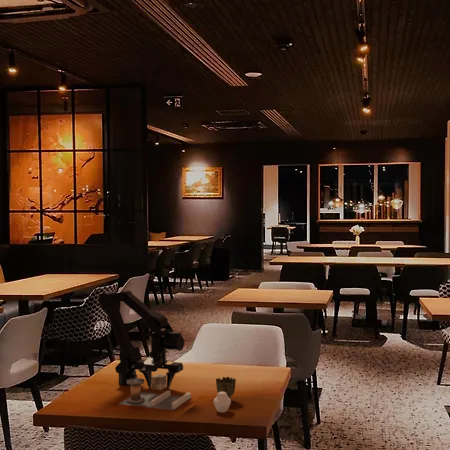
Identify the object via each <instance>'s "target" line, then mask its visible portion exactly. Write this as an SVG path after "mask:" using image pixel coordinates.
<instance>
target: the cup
mask: <svg viewBox="0 0 450 450" xmlns="http://www.w3.org/2000/svg"><path fill="white" fill-rule="evenodd" d="M236 382H237V379H236V378H234V377H230V376H226V377H225V376H223V377H222V378H220V377H218V378H215V384H216V385H215V386H216V390H217V394H218V393H219V392H226V393H227V396H228V397H229V398H230V400H231V399H232V396H233V395H234V394H235V391H236ZM231 401H232V400H231Z"/></svg>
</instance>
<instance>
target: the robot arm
mask: <svg viewBox="0 0 450 450" xmlns="http://www.w3.org/2000/svg"><path fill="white" fill-rule="evenodd" d="M97 301H98V304H99V306H100V308H101V310H102V311H103V312H104V313H105V314H107V317H108V319H109V322H110V324H111V327H112V330H113V333H114V335H115V337H116V341H117V343H118V347H119V356H118V357H119V361H120V362H119V363H118V364H117V365H116V366H115V367H114V370H115V373H116V374H118V385H120V386H127V387H128V386H130V385H129V384H127V380H128V379H132V378H138V375H137V370H138V372H140V373H142V374H143V376H144V379H145V381H146V383H147V386H148V388H151V377H153V375H152V373H153V372H154V373H155V372H157V371H158V369H161V370H167V372H165V375H166V389H167V390H170V387H171V385H172V383H173V381H174V377H175V376H176V374H178V373H180V372H182V371H184V364H183V362H176V361H175V362H174V361H173V362H171V363H168V359H167V353H168V350H170V351H177V352H178V351H179V352H180V351H182V350H183V349H184V347H185V339H184V336H182V332H175V331H174V330H173V328H172V326H171V324H170V323H169V322H168V321H169V320H168V318H167V316H165V315H164V314H162V313H161V312H158V311H155V310H153V309H151V308H150V307H149V306H147V304H145V303H144V302H143V301H142V300H141V299H139V298H138V297H137V296H135V295H134V294H133V291H131V290H122V291H119V292H116V291H114V290H113V291H107V292H103V293H101V294H99V297H98V300H97ZM121 302H122V303H124V304H125V305H126V306H127V307H128V308H130V309H131V310H132V311H133V312H134V313H136V315H138V316H139V317H140V318H142V320H143V321H144V324H145V326H146V327H147V328H148V329H149V331H148V333H147V334H146V335H145V337H148V338H149V337H150V351H149V355H148V358H146V359H143V358H142V356H143V355H142V353H141V350H140V347H139V346H136V347H135V346H134V345H133V344H132V340H131V338H130V335H129V332H128V330H127V327H126V324H125V321H124V318H123V316H122V313H121V305H122V304H121Z"/></svg>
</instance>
